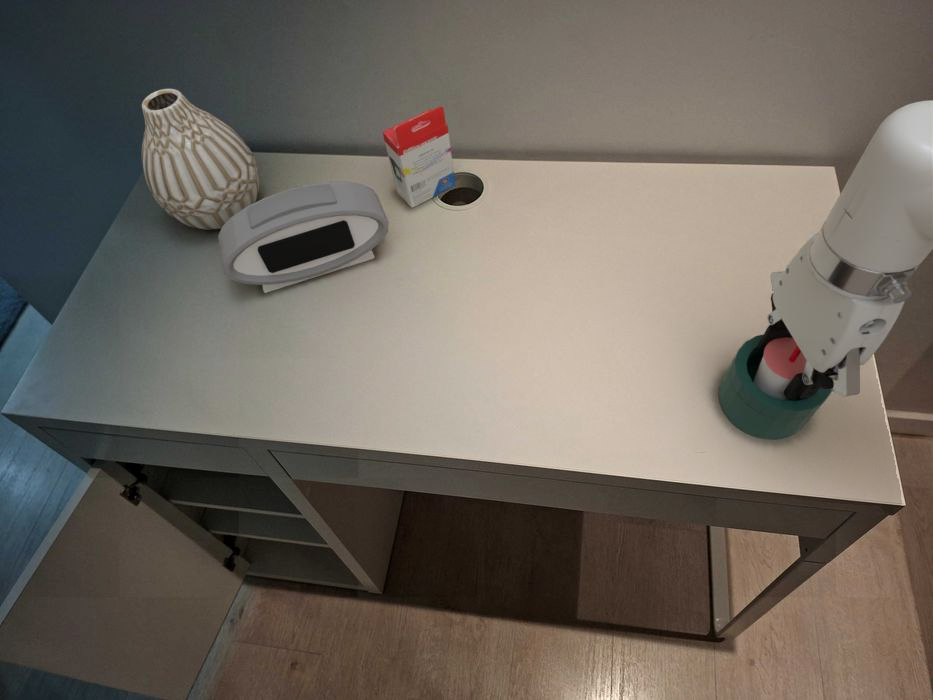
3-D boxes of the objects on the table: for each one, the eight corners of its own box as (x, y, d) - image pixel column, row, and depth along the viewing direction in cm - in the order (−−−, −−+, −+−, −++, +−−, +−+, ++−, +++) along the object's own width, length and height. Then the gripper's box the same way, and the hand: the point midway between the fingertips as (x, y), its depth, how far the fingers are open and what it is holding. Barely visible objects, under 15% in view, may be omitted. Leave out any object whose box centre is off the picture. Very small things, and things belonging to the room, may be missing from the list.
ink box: (440, 170, 98) (428, 89, 86) (456, 186, 95) (446, 104, 83) (395, 193, 96) (376, 112, 83) (411, 210, 93) (393, 129, 81)
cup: (761, 428, 68) (801, 372, 58) (729, 392, 70) (761, 333, 60) (798, 407, 69) (844, 349, 59) (765, 373, 71) (803, 312, 61)
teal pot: (783, 359, 73) (805, 326, 67) (823, 430, 67) (851, 400, 62) (705, 374, 73) (720, 342, 67) (739, 447, 67) (759, 418, 61)
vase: (262, 166, 102) (211, 54, 86) (280, 226, 94) (227, 114, 77) (170, 195, 100) (99, 86, 84) (180, 259, 91) (103, 151, 75)
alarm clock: (243, 304, 85) (203, 241, 75) (238, 274, 89) (198, 210, 78) (397, 255, 88) (379, 188, 77) (386, 228, 91) (368, 160, 81)
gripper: (974, 327, 44) (860, 433, 59) (851, 178, 54) (781, 302, 69) (876, 346, 44) (787, 448, 59) (771, 193, 54) (718, 314, 69)
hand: (784, 368), depth 64 cm, fingers closed on cup, 5 cm apart
